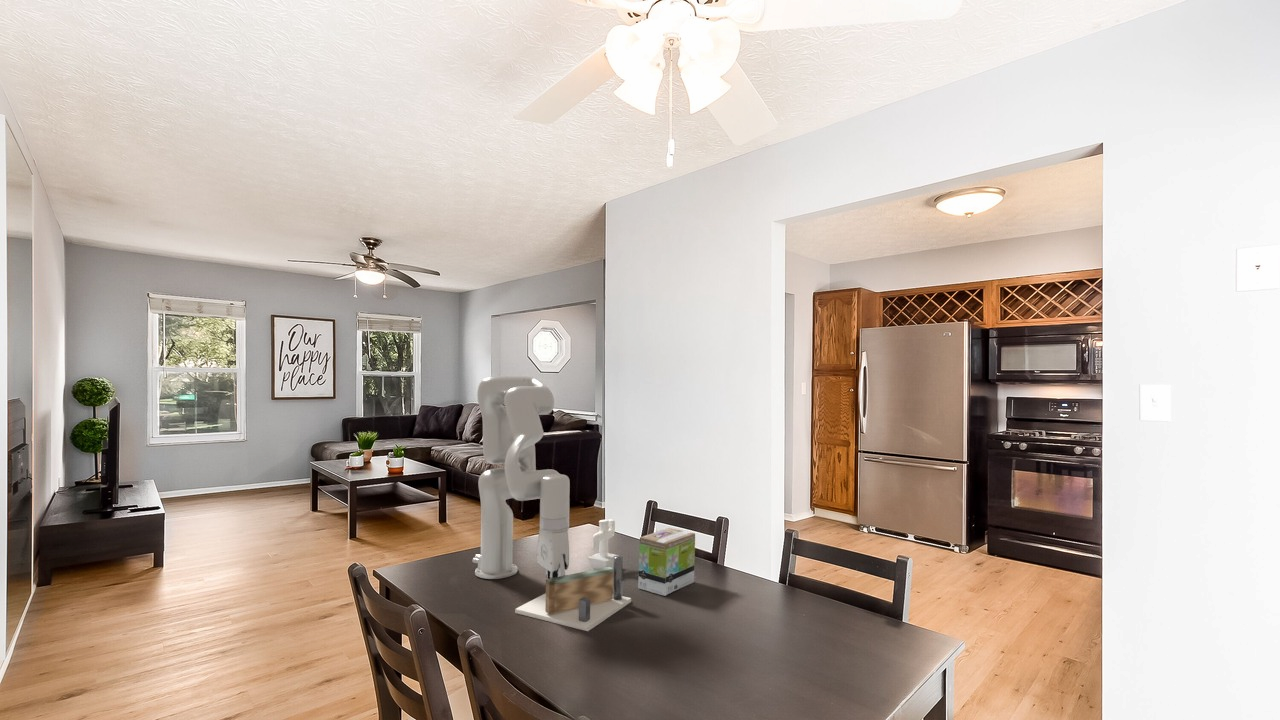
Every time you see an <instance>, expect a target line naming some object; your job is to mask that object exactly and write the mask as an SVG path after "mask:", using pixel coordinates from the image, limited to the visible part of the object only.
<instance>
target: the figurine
mask: <svg viewBox="0 0 1280 720" xmlns="http://www.w3.org/2000/svg"><path fill="white" fill-rule="evenodd" d="M598 525H599V527H598V528H599V531H598V532H596V533H594V534H593V536H592V551H593V552H596V553H595V554H592V555H590V556H587V559H588V561H589V563H590V565H591V566H592V568H593V570H595V569H600V568H605V567H611V568H613V563H614V556H620V555H619V554H613V553H609V539H612V538H613V537H614V536H615V532H616V530H615V528H616V521H615V519H601V520H599V521H598Z"/></svg>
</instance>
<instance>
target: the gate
mask: <svg viewBox="0 0 1280 720" xmlns="http://www.w3.org/2000/svg"><path fill="white" fill-rule="evenodd" d="M545 593H546V610H545V612H547V613H548V614H553V613H555V612H559V611H564V610H568V609H572V608H576V607H579V599H581V598H583V597H585V598H590V604H593V603H598V602H602V601H606V600H610V599H613V568H611V567H605V568H600V569H591V570H585V571H580V572H575V573H571V574H565V576H564V577H555V578H550V579H547V578H546V579H545Z"/></svg>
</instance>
